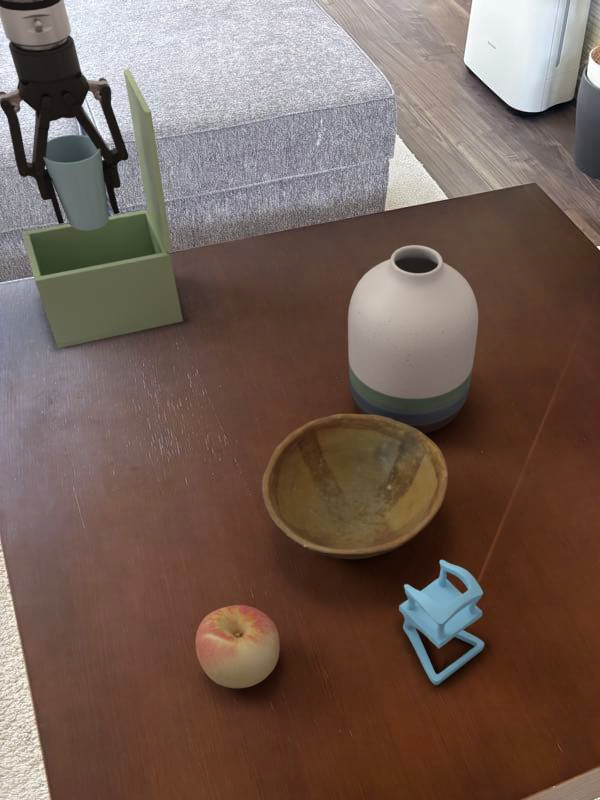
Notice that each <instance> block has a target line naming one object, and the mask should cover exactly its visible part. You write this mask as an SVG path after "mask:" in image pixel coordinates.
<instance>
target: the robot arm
mask: <svg viewBox="0 0 600 800" xmlns="http://www.w3.org/2000/svg"><path fill="white" fill-rule="evenodd" d="M0 21H1V25H2V28H3V31H4V34H5V37H6V40H9V43H8V48H9V51H10V55H11V59H12V62H13V65H14V69H15V72H16V76H17V79H18V81H17V82H18V83H17V87H16V88H17V89H15V90H12V91H10V92H7V93H6V92H5V91H0V108H1V110H2V111H3V114H4V115H5V116H6V119H7V124H8V129H9V134H10V139H11V145H12V150H13V155H14V160H15V165H16V168H17V171H18V174H19V176H20V177H23V178H26V177H32V178H34V180H35V181H36V185H37V188H38V192H39V194H40V197H41V199H42V200H43V201H49V200H50V202H51V204H52V207H53V212H54V214H55V217H56V220H57V223H58V225H63V224H65V221H64V217H63V214H62V211H61V207H60V203H59V200H58V196H57V193H56V190H55V187H54V185H53V183H52V180H51V177H50V175H49V173H48V170H47V168H46V166H45V161H44V158H43V157H46V151H47V142H48V141H49V140H48V138H49V130H50V127H51V125H50V124H51V122H55V121H58V120H60V119H74V118H75V120H76V121H77V122H78V124H79V125H80V126H81V127H82V129H83V130H84V132H85V133H86V136H88V137H89V138H90V139H91V141H92V142H93V144H94V145H95V147H96V148H97V150H98V149H100V151H101V156H102V164H103V172H104V180H105V188H106V194H107V198H108V200H109V205H110V208H111V209H112V212H113V214H114V215H119V214H120V209H119V205H118V201H117V196H116V192H115V189H117V188H118V189H119V188H121V186H122V183H121V179H120V174H119V169H118V164H119V163H120V162H122V161H127V160H129V157H130V156H129V152H128V150H127V146H126V144H125V141H124V138H123V136H122V132H121V130H120V126H119V124H118V120H117V118H116V115H115V112H114V109H113V106H112V88H111V86H110V84H109V82H108V80H107V79H106V78H104V77H100V78H99V79H98V80H91V79H87V77H86V76H85V75H84V73H83V72H82V68H81V64H80V61H79V56H78V53H77V49H76V44H75V40H74V38H73V37H72V36H71V33H72V27H71V23H70V20H69V16H68V12H67V8H66V4H65V0H0ZM89 92H90V93H92V96H93V98H94V99H95V100H96V101H99V104H100V108H101V111H102V113H103V116H104V119H105V122H106V124H107V127H108V131H109V133H110V136H111V138H112V141H113V144H114V148H112V149H111V148H110V147H109V146H108V144H107V143H106V141H105V140H104V138H103V136H102V135H101V134H100V132H99V130H98V128H97V127H96V126H95V124H94V123H93V121H92V119H91V118H90V117H89V115H88V114H87V112H86V110H85V107H83V105H84V102H85V101H86V98H87V95H88V93H89ZM21 102H24V103H26V104H27V105H28V106H29V107H30V108H31V109H32V110H33V111H35V113H34V118H35V121H34V131H33V145H32V156H31V162H30V161H29V162H28V161H27V155H26V151H25V145H24V140H23V134H22V130H21V125H20V120H19V117H18V113H19V112H20V111H21Z"/></svg>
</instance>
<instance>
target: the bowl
mask: <svg viewBox="0 0 600 800" xmlns="http://www.w3.org/2000/svg"><path fill="white" fill-rule="evenodd" d="M448 480H449V470H448V465H447V461H446V458H445V457H444V455H443V452H442V450H441V449H440V448H439V446H438V445H437V444H436V443H435V442H434V441H433V440H432V439H431V438H429V437H428V436H427V435H426V434H423V433H422V432H420V431H419V430H417V429H415V428H413V427H411V426H409V425H406V424H404V423H401V422H398V421H396V420H393V419H391V418H387V417H383V416H379V415H366V414H362V413H337V414H331V415H329V416H324V417H320V418H316V419H312V420H311V421H308V422H306V423H304V424H303V425H301V426H299V427H298V428H296V429H295V430H293V431H291V432H290V433H289V434H288V435H287V436H286V437H284V439H282V441H281V442H280V443H279V444H278V445H277V446H276V447H275V448H274V451H273V453H272V454H271V456H270V458H269V460H268V464H267V466H266V467H265V470H264V472H263V474H262V477H261V495H262V496H261V497H262V500H263V504H264V506H265V509H266V512H267V513H268V516H269V519H270V520H271V522H272V523H273V524H274V525H275V526H276V528H277V529H278V530H279V531H280V533H282V534H283V536H284V537H286V538H287V539H288V540H289V541H291V542H292V543H294V544H296V545H297V546H298V547H300V548H303V549H306V550H307V551H310V552H312V553H315V554H318V555H319V556H320V555H321V556H324V557H328V558H334V559H342V560H361V559H369V558H373V557H378V556H380V555H384V554H388V553H389V552H393V551H394V550H397V549H398V548H401V547H402V546H403V545H405V544H406V543H408V542H409V541H411V540H413V538H415V537H416V536H417V535H418V534H419V533H421V532H422V531H423V530H424V529H425V528H426V527H427V526H428V525H429V524H430V523H431V522H432V521H433V520H434V519H435V517H436V516H437V514H438V512H440V511H439V510H440V509H441V507H442V505H443V502H444V499H445V496H446V493H447V489H448V485H449V481H448Z"/></svg>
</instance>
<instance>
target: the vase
mask: <svg viewBox="0 0 600 800" xmlns="http://www.w3.org/2000/svg"><path fill="white" fill-rule="evenodd" d="M474 293H475V292H474V291H473V289H472V287H471V285H470V284H469V282H468V281H467V279H466V278H465V277H464V276H463V275H462V274H461V273H460V272H459V271H458V270H456V269H455V268H453V267H452V266H450V265H449V264H447V263H445V262H444V261H443V257H442V255H440V253H439V252H438V251H436V250H435V249H433V248H431V247H428V246H424V245H419V244H418V245H417V244H416V245H414V244H412V245H411V244H410V245H405V246H402V247H399V248H397V249H396V250H395V251H394V252H393V253H392V254H391V256H390V258H389V259H387V260H384V261H382V262H379V263H378V264H376V265H375V266H373V267H372V268H371V269H370V270H368V271H367V272H366V273H365V274H364V275H363V276H362V277H361V278H360V280H358V283H357V284H356V286H355V288H354V290H353V293H352V295H351V297H350V298H351V299H350V301H349V306H348V313H347V314H348V315H347V343H348V345H347V346H348V347H347V348H348V349H347V351H348V379H349V388H350V393H351V396H352V399H353V402H354V403H355V406H356V408H357V409H358V411H359V412H360V414H366V415H379V416H383V417H387V418H391V419H393V420H396V421H398V422H401V423H404V424H406V425H409V426H411V427H413V428H415V429H417V430H419V431H420V432H422V433H423V434H424V435H426V434H429V433H433V432H436V431H438V430H440V429H443V428H444V427H446V426H447V425H448V424H450V423H451V422H452V421H453V420H454V419H455V418H456V417H457V416H458V415H459V413H460V412H461V410H462V409H463V407H464V405H465V404H466V402H467V399H468V395H469V392H470V387H471V381H472V374H473V368H474V359H475V353H476V346H477V339H478V330H479V329H478V328H479V309H478V308H479V307H478V303H477V300H476V296H475V294H474Z"/></svg>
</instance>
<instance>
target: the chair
mask: <svg viewBox="0 0 600 800" xmlns="http://www.w3.org/2000/svg"><path fill="white" fill-rule="evenodd" d="M439 566H440V571H439V577H438V578H436V579H435V580H433V581H432V582H431V583H430V584H428V585H427V586H426V587H424V588H423V589H422V590H419V589H416V588H414V587H413V586H411V585H410V584H408V583H405V584H404V585H403V589H404V592H405V595H406V597H407V600H405V601H404V602H402V603H400V604H399V605H398V611H399V612H400V613H401V614H402V616H403V618H404V621H403V625H402V629H403V631H404V632H405V634H406V636H407V637H408V639H409V641H410V643H411V644H412V647H413V649H414V651H415V653H416V655H417V657H418V659H419V661H420V663H421V665H422V667H423V669H424V671H425V673H426V675H427V677H428V678H429V680H430V682H431V683H432V684H433V685H434V686H438V685H440V684H441V683H443V682H444V681H445V680H446V679H447V678H449V677H450V676H451V675H452V674H454V673H456V671H458V670H459V669H460V668H461V667H463V666H464V665H465V664H467V663H468V662H469V661H471V659H473V658H474V657H475V656H477V655H478V654H479V653H480V652H482V651H483V649H484V648H485V642H484V641H483V640H482V639H481V638H478V636H475V635H473V634H471V633H469V632H467V631H465V629H466V628H467V627H468V628H469V626H470V625H473V623H475V622H476V621H478V620H479V619H480V618H482V616H483V611H482V609H480V608H479V607H478V606H477V604H478V602H479V601H480V600H481V598H482V596H483V595H484V592H483V591H484V590H483V589H482V587H481V585H480V584H479V582H478V581H477V580H476V578H475V577H474V575H473V574H471V573H470V572H469V571H468V570H467V569H465V568H464V567H461V566H459V565H455V564H452V563H449V562H448V561H446V560H444V559H439ZM448 573H449V574H451V575H453V576H455V577H457V578H458V579H459V580H460V581H461V582H462V584H464V585H465V587H466V588H467V590H466V591H465V592H464V593H462V592H461V591H460V590H459V589H457V587H456V586H455V585H454V584H453V583H452V582H450V581H449V579H447V577H448V576H447V574H448ZM417 630H418V631H419V632H421V633H422V634H423V635H424V636H425V637H426V638H427V639H428V640H429V641H430V642H431V643H432V644H434V646H436V648H437V649H440V648H442V647H443V646H444V645H446V644H447V643H448V642H450V641H451V640H452V639H453V638H456V639H458V640H461V641H463V642H465V643H466V644H467V643H468V644H469V645H472V646H473V647H472V648H471V649H469V651H467V652H466V653H464V654H463V655H462V656H461V657H459V658H458V659H457V660H455V661H454V662H452V663H451V664H450V665H448V666H447V667H446V668H444V669H443V670H442V671H441V672H439V673H436V672H435V670H434V666H433V664H432V663H431V659H430V658H429V655H428V653H427V650H426V648H425V646H424V644H423V642H422V639H421V637H420V634H419V632H418V631H417Z"/></svg>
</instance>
